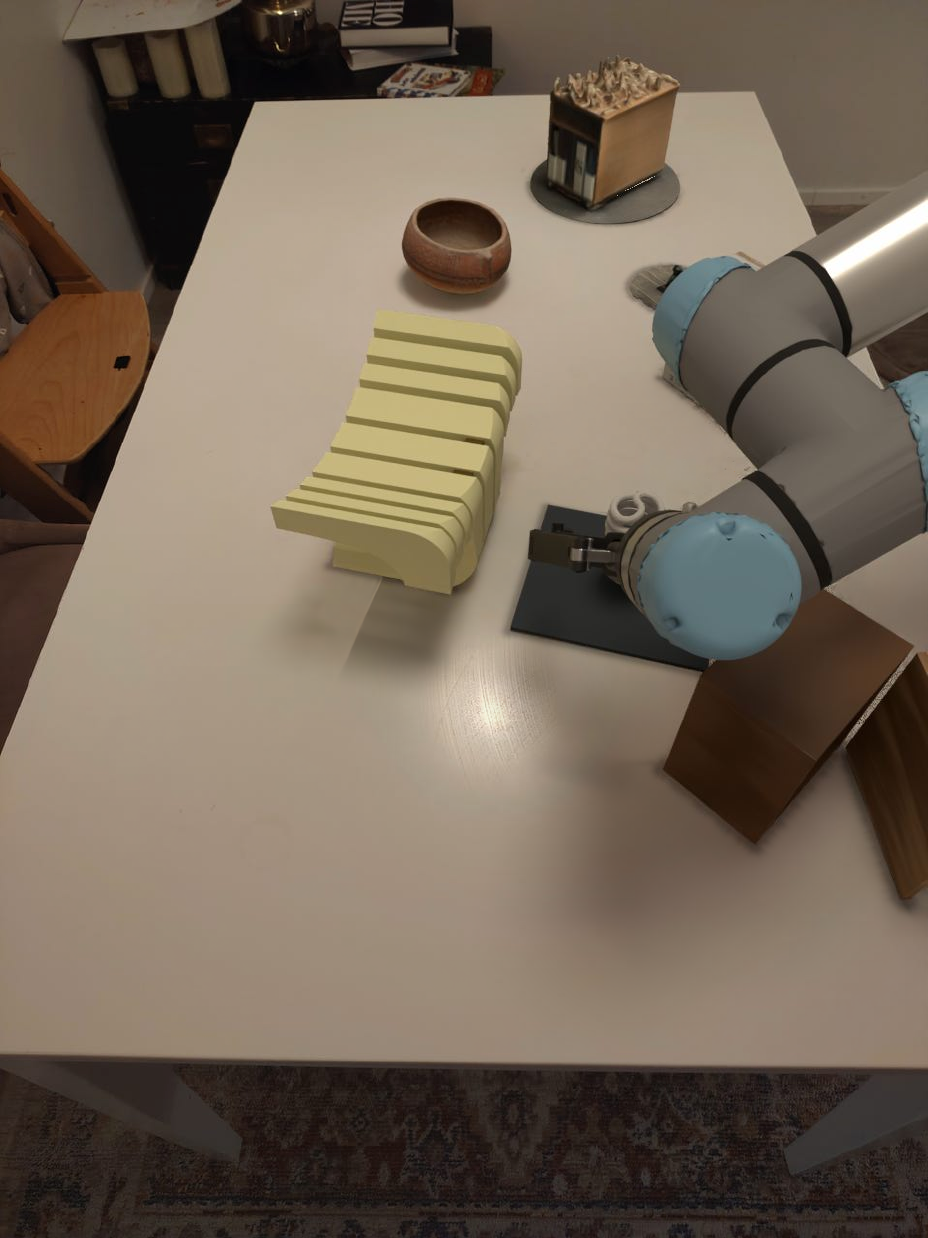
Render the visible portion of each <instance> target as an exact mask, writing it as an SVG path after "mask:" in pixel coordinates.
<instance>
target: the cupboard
mask: <svg viewBox="0 0 928 1238" xmlns="http://www.w3.org/2000/svg"><path fill="white" fill-rule="evenodd" d="M914 648H915V645H914V644H912V643H911V642H909V641H908V640H906V639H904V638H903V637H901V636H899V635H898V634H897V633H895V632H893V631H892V630H890V629H888V628H887V627H886V626H884V625H882V624H880V623H879V622H877V621H876V620H874V619H872V618H871V617H870V616H868V615H866V614H864V613H863V612H861V611H860V610H858V609H857V608H855V607H854V606H852V605H850V604H849V603H847V602H845V601H844V600H842V599H840V598H839V597H838V596H837V595H834V594H833V593H831V592H829V590H827V589H826V588H824V589H822V590H820V592H819V593H818V594H817V595H816V596H814V597H812V598H811V599H809V600H807V601H806V602H804V603H802V604H800V605H799V606H798V609H797V612H796V614H795V616H794V617H793V619H792V621H791V623H790V625H789V626H788V627H787V629H786V630H785V631H784V633H783V634H782V635H781V636H780V637H779V638H778V639H777V640H776V641H775V642H774V643H773V644H771V645H770V646H768V647H767V648H765V649H764V650H762V651H760V652H758V653H756V654H753V655H751V656H748V657H745V658H741V659H735V660H714V661H713V662H712V663H711V664H709V667H708V668H707V669H706V670H705V671H704V672H701V673H700V675H699V677H698V679H697V683H696V686H695V688H694V690H693V692H692V695H691V697H690V700H689V702H688V705H687V707H686V710H685V712H684V714H683V718H682V720H681V722H680V724H679V727H678V729H677V732H676V735H675V737H674V740H673V742H672V745H671V747H670V750H669V751H668V752H669V753H668V755H667V757H666V760H665V762H664V764H663V766H662V771H663V772H664V773H665V774H667V776H669V777H670V778H671V779H673V780H674V781H676V782H677V783H678V784H679V785H680V786H681V787H683V788H684V789H686V791H688V792H689V793H690V794H691V795H692V796H694V797H695V798H696V799H698V800H699V801H700V802H701V803H703V804H704V805H705V806H706V807H707V808H709V809H710V810H711V811H712V812H713V813H715V814H716V815H717V816H718V817H719V818H721V819H722V820H723V821H725V822H726V823H727V824H728V825H729V826H731V827H732V828H733V829H735V830H736V831H737V832H738V833H739V834H740V835H742V836H743V837H744V838H745V839H747V840H748V841H749V842H751V843H752V844H753V845H754V846H756V845H757V844H758V843H759V842H760V841H761V839H762V838H763V837H764V835H766V833H767V832H768V831H769V830H770V829H771V828H772V826H773V825H774V824H775V823H776V822H777V820H778V819H779V818H780V817H781V816H782V815H783V813H784V812H785V811H786V810H787V809H788V807H789V806H790V805H791V804H792V803H793V802H794V800H795V799H796V798H797V797H798V796H799V795H800V793H801V792H802V791H803V790H804V788H805V787H806V786H807V785H809V783H810V782H811V781H812V779H813V778H814V777H815V776H816V774H817V773H819V771H820V770H821V768H822V767H823V766H824V765H825V764H826V763H827V762H828V760H829V759H830V758H831V757H832V756H833V755H834V754H835V752H836V751H837V749H839V747H840V746H841V745H842V744H843V743H844V741H845V740H846V739H847V737H848V736H849V734H850V733H851V732H852V731H853V729H854V728H855V727H856V725H857V724H858V723H859V721H860V719H861V718H862V717H863V716H864V714H865V713H866V712H867V710H868V709H869V708H870V706H872V704H873V703H874V701H875V700H876V698H877V697H878V696H879V695H880V693H881V692H882V691H883V689H884V688H885V687H886V686H887V684H888V682H889V681H890V680H891V678H892V677H893V676H894V675H895V673H896V672H897V670H898V669H899V668H900V667H901V665H902V664H903V662H904V661H905V660H906V658H907V657H908V656H909V654H910V653H911V652H912V650H913V649H914Z"/></svg>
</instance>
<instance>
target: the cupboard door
mask: <svg viewBox="0 0 928 1238" xmlns="http://www.w3.org/2000/svg"><path fill="white" fill-rule="evenodd" d="M844 749H845V752H846V754H847V758H848V760H849V763H850V766H851V768H852V771H853V774H854V776H855V779H856V781H857V784H858V786H859V791H860V793H861V795H862V797H863V800H864V803H865V806H866V809H867V811H868V814H869V816H870V819H871V822H872V825H873V827H874V830H875V832H876V833H875V834H876V835H877V838H878V841H879V844H880V846H881V848H882V852H883V854H884V857H885V859H886V862H887V866H888V868H889V870H890V873H891V875H892V879H893V881H894V884H895V886H896V889H897V892H898V895H899V897H900V899H901V900H910V899H912V898H913V897H915V896H916V895H917V894H918V893H920V892H921V891H923V890H924V889H925V888H926V887H928V652H927V651H919V652H916V653H915V654H914V656H913V657H912V658H911V659H910V661H909V662H908V664H907V665H906V666H905V667H904V669H903V670H902V672H901V673H900V674H899V676H898V677H897V678H896V679H895V681H894V682H893V683H892V685H891V686H890V687H889V688H888V690H887V691H886V692H885V694H884V695H883V696H882V698H881V699H880V700H879V702H878V703H877V705H876V706H875V707H874V708H873V709H872V711H871V712H870V714H869V715H868V716H867V718H866V719H865V720H864V721H863V723H862V724H861V725H860V727H859V728H858V729H857V730H856V731H855V733H854V734H853V736H852V737H851V738H850V740H849V741H848V743H847V744H846V745H845V746H844Z"/></svg>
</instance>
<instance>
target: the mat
mask: <svg viewBox="0 0 928 1238" xmlns="http://www.w3.org/2000/svg"><path fill="white" fill-rule="evenodd" d="M606 519H607V514H606V515H605V514H601V513H596V512H595V513H594V512H589V511H585V510H579V509H575V508H569V507H563V506H559V505H553V504H547V507H546V510H545V514H544V517H543V521H542V524H541V527H540V530H541V531H544V532H551V525H552V523H564V528H571V529H572V530H573V533H575V534H583V535H592V536H601V537H605V529H606V528H605V522H606ZM622 526H624V527H627V528H630V527H631V526H628V525H622ZM509 630H510V631H513V632H516V633H522V634H525V635H530V636H536V637H540V638H544V639H548V640H554V641H558V642H563V643H567V644H572V645H576V646H581V647H585V648H589V649H590V648H591V649H595V650H598V651H603V652H608V653H613V654H615V655H616V654H617V655H621V656H625V657H631V658H635V659H640V660H643V661H648V662H654V663H656V664H657V663H658V664H663V665H666V666H671V667H675V668H681V669H685V670H689V671H694V672H699V673H703V672H704V671H705V670H706V669H707V668H708V667H709V666H710V660H711V659H708V658H704V657H700V656H697V655H694V654H692V653H690V652H688V651H685V650H683V649H681V648H679V647H677V646H675V645H673V644H671V643H670V642H669V640H668V639H666V638H664V637H662V636H660V635H659V634H658V633H657V631H656V630H655V628H654V627H653V625H652V624H651V623H650V621H649V620H648V619H647V617H646V616H645V615H644V614H643V613H642V612H641V611H640V610H639V609H638V608H637V607H636V605H635V604H634V603H633V602H632V601H631V600H630V598H629V597H628V596H627V595H626V594H625V592H624V591H623V589H622V587H621V585H620V584H618V583H616V582H615V581H613V580H611V579H610V578H609V577H608V576H607V575H605V574H604V573H603V570H602V569H601V568H597V567H591V570H587V571H586V572H582V573H575V571H572V570H570V569H568V568H565V567H560V566H556V565H552V564H547V563H543V562H538V561H532V560H530V562H529V565H528V568H527V571H526V574H525V578H524V582H523V585H522V588H521V592H520V595H519V598H518V600H517V604H516V608H515V611H514V614H513V617H512V620H511V624H510V626H509Z"/></svg>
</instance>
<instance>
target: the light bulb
mask: <svg viewBox="0 0 928 1238" xmlns="http://www.w3.org/2000/svg"><path fill="white" fill-rule="evenodd" d="M662 510H666V505H665V504H664V501H663V500H662V499H661V498H660V497H659V496H658V495H656V494H654V493H652V492H649V491H646V490H645V491H643V490H642V491H638V492H626V493H622V494H619V495H617V496H616V497H614V498H613V499H612V500H611V502H610V504H609V508H608V510H607V513H606V516H607V519H606V522H605V528H606V529H605V536H606V534H607V533H608V532H622V533H626V532H627V530H628V529H629V528H627V527H624V526H622V525H628V526H632V525H633V524H634V523H635V522H637V521H638V520H639V519H641V518H643V517H644V516H646V515H648V514H651V513H654V512H657V511H662ZM608 577H609V578H610V579H611V580H613V581H615V582H616V583H618V584H620V583H619V580H618V578H617V577H613V576H608Z"/></svg>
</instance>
